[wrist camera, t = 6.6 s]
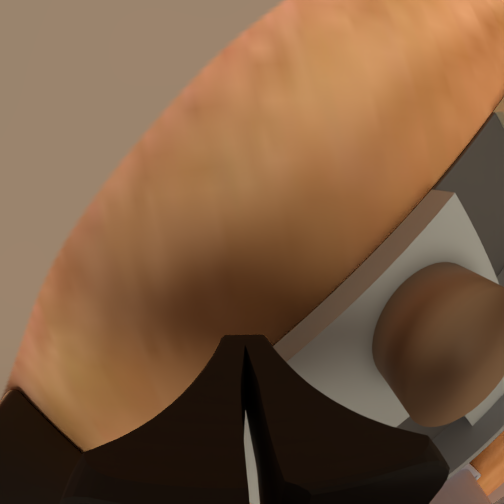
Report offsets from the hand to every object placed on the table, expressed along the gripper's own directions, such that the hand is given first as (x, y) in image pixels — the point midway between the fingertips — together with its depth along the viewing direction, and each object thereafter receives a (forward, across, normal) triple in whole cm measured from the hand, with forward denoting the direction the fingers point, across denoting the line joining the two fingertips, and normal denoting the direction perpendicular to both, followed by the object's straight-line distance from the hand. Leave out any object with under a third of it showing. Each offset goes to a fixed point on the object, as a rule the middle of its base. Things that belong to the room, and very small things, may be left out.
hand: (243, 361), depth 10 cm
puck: (+1, -8, 0) cm, 8 cm away
